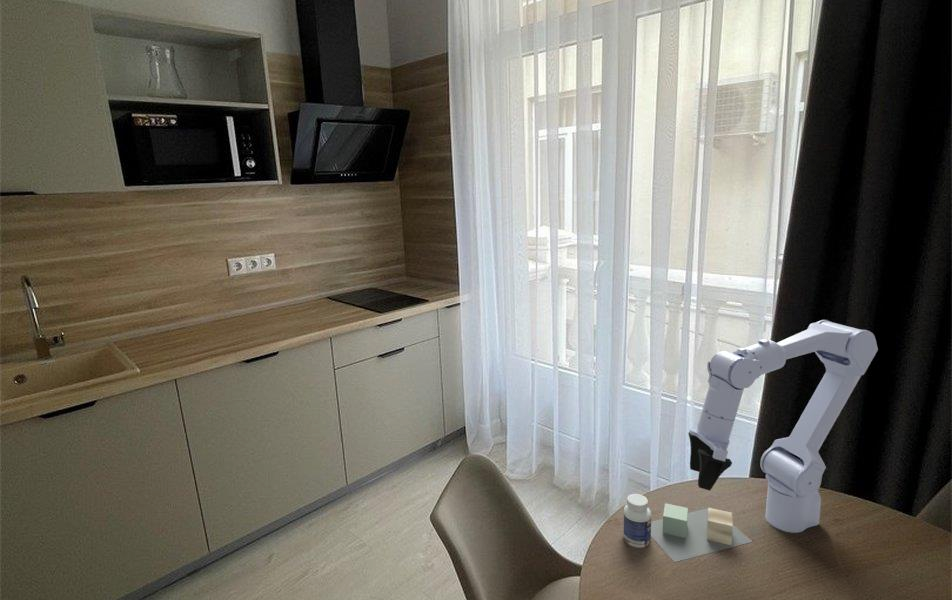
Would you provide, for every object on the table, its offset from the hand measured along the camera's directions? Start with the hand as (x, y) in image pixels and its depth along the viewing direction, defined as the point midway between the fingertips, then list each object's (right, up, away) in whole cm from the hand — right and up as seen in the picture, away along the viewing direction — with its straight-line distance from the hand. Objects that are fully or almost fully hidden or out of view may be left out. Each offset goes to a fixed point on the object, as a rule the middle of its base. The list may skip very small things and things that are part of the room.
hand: (699, 478), depth 95 cm
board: (+2, -14, +6) cm, 15 cm away
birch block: (+6, -13, +4) cm, 15 cm away
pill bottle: (-11, -15, +5) cm, 19 cm away
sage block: (-2, -13, +7) cm, 15 cm away
